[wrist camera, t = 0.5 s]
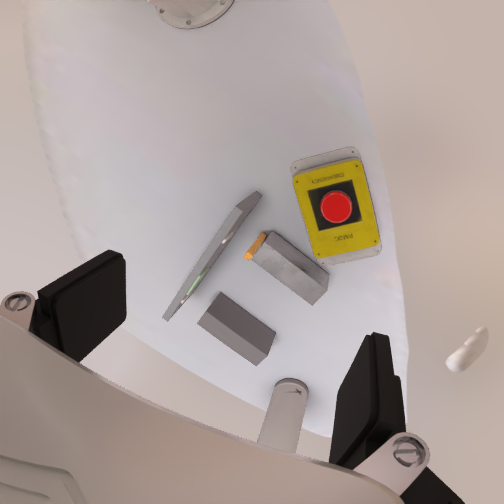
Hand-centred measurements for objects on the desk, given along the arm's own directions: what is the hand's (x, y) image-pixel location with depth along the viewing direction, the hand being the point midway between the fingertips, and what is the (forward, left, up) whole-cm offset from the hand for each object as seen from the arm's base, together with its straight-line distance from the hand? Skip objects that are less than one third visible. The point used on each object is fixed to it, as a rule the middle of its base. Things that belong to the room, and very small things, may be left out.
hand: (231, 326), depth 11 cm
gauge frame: (+3, -15, -32) cm, 36 cm away
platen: (+5, -10, -32) cm, 34 cm away
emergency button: (+5, 0, -33) cm, 33 cm away
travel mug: (+20, -30, -33) cm, 49 cm away
